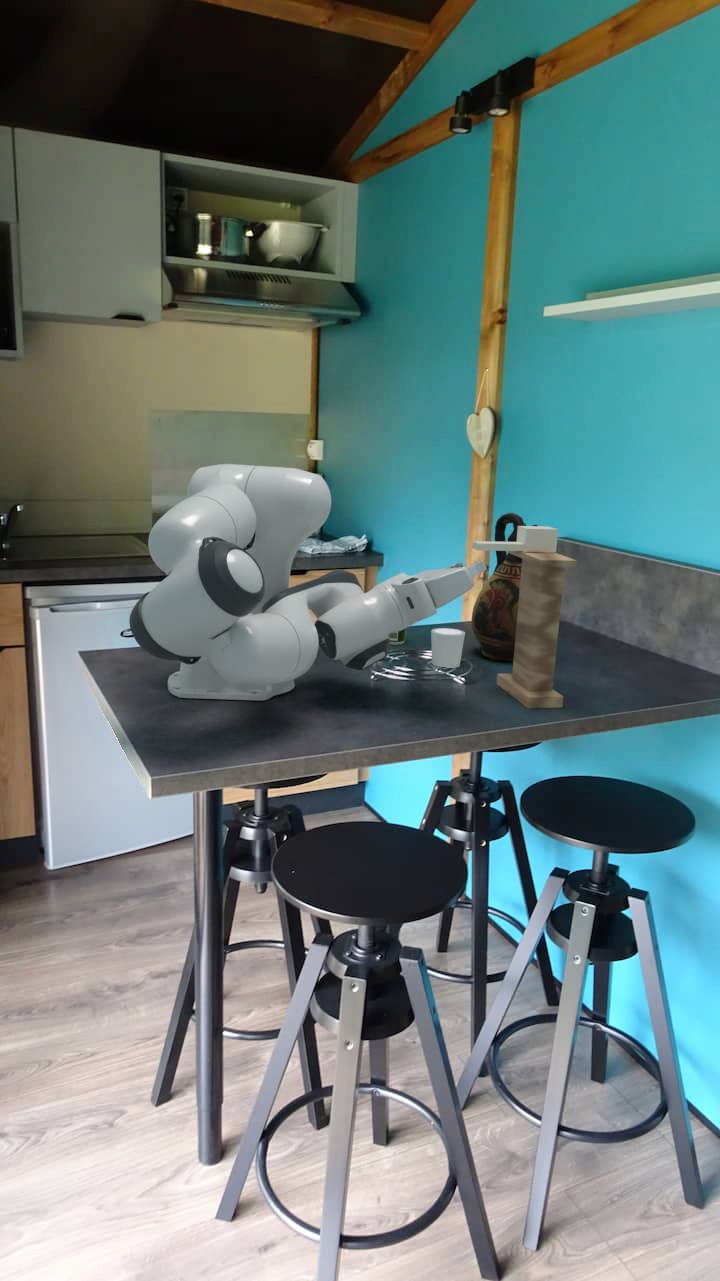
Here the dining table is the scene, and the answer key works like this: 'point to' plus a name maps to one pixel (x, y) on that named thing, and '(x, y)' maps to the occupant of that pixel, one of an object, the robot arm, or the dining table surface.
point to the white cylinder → (447, 647)
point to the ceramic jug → (500, 599)
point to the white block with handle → (524, 541)
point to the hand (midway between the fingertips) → (472, 565)
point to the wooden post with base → (537, 630)
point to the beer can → (397, 637)
